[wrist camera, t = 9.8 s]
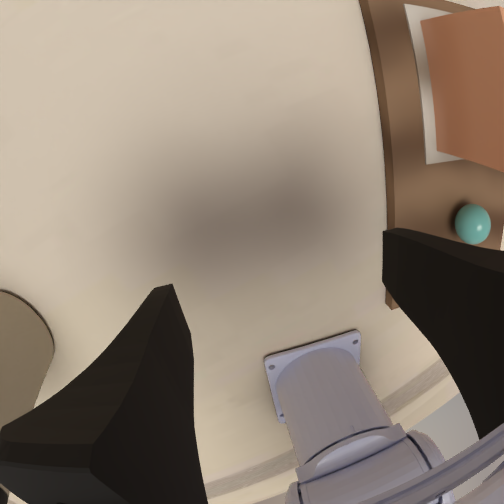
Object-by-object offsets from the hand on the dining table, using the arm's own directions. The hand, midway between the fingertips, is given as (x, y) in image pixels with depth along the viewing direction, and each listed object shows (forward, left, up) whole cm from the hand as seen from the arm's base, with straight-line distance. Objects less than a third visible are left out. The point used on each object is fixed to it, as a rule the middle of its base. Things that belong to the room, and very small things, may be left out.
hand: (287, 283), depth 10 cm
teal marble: (-4, -16, -7) cm, 18 cm away
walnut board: (+1, -16, -9) cm, 19 cm away
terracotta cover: (+6, -16, -8) cm, 19 cm away
